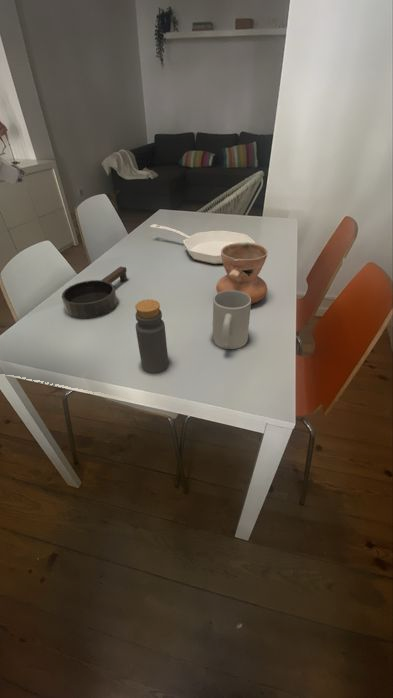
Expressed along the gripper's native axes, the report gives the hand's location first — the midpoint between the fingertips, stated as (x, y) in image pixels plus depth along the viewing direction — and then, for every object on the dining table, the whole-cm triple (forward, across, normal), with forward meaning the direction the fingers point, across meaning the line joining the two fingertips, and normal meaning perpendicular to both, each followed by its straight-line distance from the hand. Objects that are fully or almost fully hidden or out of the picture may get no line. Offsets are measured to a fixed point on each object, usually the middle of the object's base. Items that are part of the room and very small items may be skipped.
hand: (21, 178), depth 41 cm
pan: (+57, +68, -4) cm, 89 cm away
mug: (+48, +8, +12) cm, 51 cm away
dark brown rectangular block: (+29, +49, +18) cm, 60 cm away
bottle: (+34, +8, +23) cm, 41 cm away
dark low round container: (+23, +40, +24) cm, 52 cm away
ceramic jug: (+58, +27, +2) cm, 64 cm away
